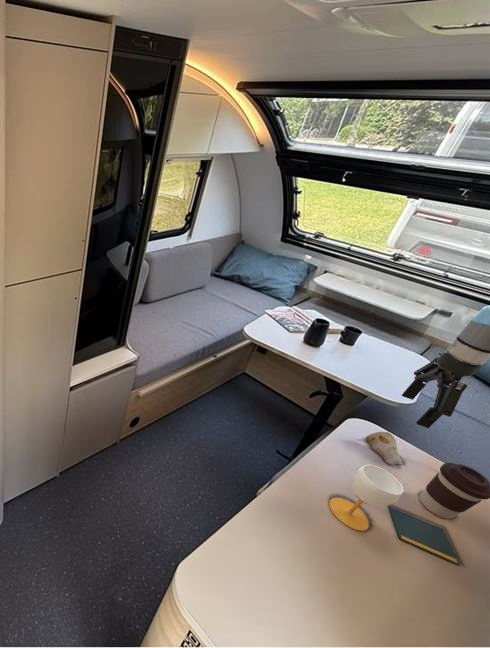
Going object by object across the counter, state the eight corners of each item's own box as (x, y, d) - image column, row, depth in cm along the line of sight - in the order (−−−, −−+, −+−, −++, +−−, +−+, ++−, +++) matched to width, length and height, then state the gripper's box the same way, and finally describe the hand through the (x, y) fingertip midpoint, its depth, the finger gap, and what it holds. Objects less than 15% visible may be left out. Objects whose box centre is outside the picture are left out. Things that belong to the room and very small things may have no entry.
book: (442, 529, 97) (443, 528, 96) (458, 565, 89) (460, 564, 89) (387, 506, 101) (388, 505, 101) (399, 539, 93) (400, 538, 93)
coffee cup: (445, 528, 97) (485, 496, 89) (404, 494, 105) (438, 462, 97) (466, 519, 100) (508, 488, 92) (425, 487, 108) (460, 455, 100)
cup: (325, 512, 98) (358, 477, 90) (332, 491, 104) (363, 456, 95) (366, 538, 93) (404, 503, 84) (370, 515, 98) (406, 480, 90)
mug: (384, 469, 113) (383, 438, 112) (362, 455, 122) (360, 426, 122) (412, 469, 111) (410, 438, 111) (387, 454, 121) (385, 426, 120)
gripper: (429, 331, 110) (387, 382, 121) (466, 377, 90) (412, 432, 101) (461, 340, 107) (415, 391, 118) (506, 389, 88) (446, 445, 99)
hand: (414, 410), depth 110 cm, fingers open, 13 cm apart
